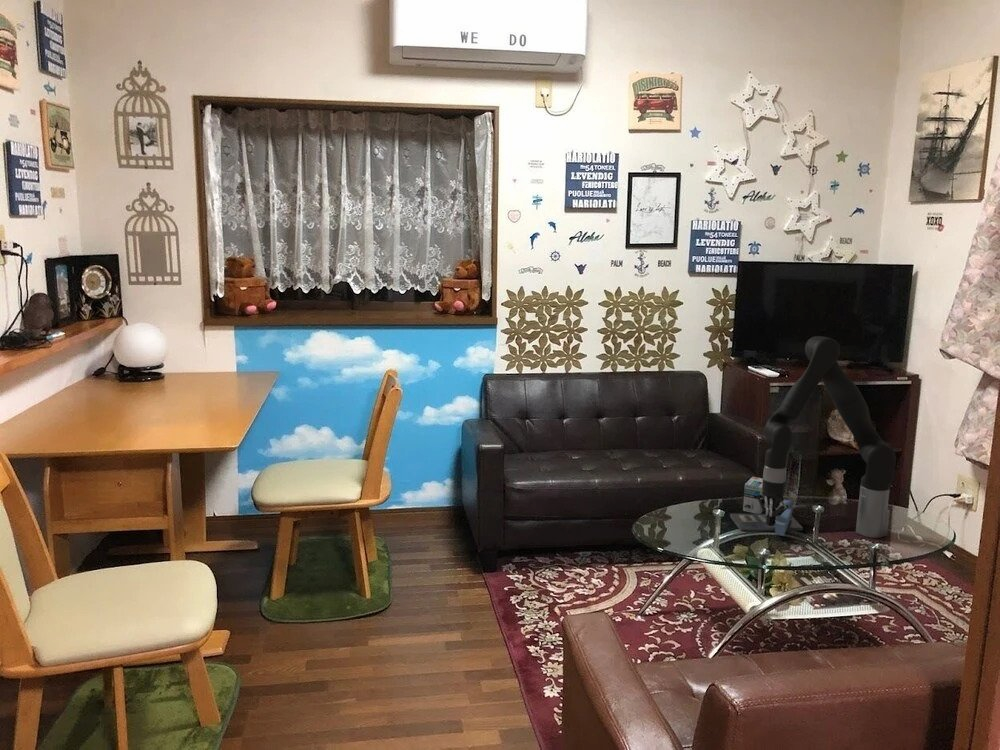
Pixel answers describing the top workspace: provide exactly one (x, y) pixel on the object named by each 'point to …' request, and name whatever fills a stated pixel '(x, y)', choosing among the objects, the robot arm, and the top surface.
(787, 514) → the swing arm
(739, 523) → the plate
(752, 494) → the light bulb box
